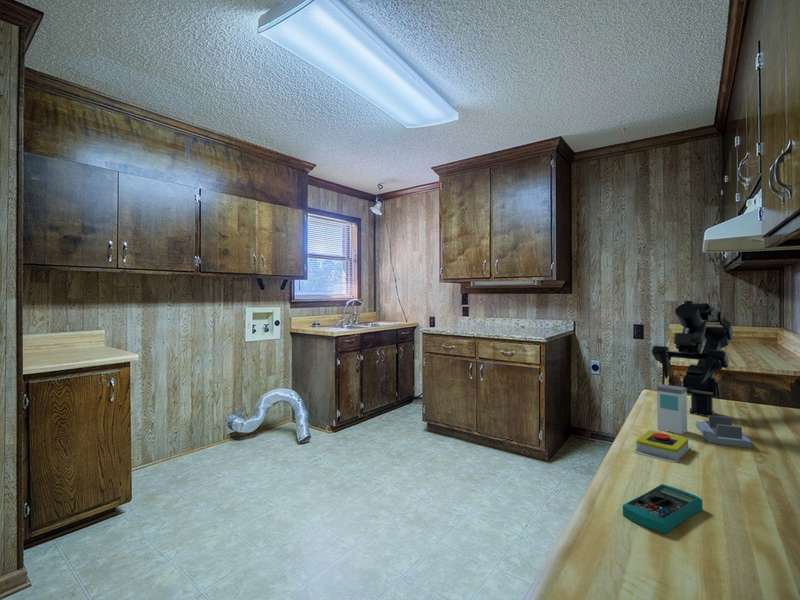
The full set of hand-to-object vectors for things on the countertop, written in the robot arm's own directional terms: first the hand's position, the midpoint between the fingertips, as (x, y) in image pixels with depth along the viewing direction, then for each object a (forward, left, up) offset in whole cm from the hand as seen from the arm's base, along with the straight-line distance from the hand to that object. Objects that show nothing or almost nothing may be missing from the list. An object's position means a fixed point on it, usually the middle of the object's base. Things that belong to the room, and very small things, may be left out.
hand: (683, 380), depth 122 cm
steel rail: (+5, +9, -12) cm, 16 cm away
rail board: (+5, +9, -14) cm, 17 cm away
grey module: (+7, -2, -14) cm, 15 cm away
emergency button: (+26, -3, -14) cm, 29 cm away
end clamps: (+8, +9, -12) cm, 17 cm away
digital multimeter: (+61, 0, -14) cm, 62 cm away
